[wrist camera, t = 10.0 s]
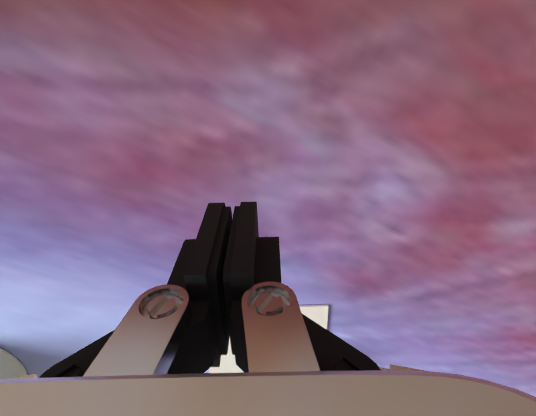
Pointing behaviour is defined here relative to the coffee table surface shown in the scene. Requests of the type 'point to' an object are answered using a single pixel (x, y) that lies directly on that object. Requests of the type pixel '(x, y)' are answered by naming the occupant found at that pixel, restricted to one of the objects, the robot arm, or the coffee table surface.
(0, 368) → the can
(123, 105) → the coffee table surface
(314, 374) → the robot arm
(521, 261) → the coffee table surface
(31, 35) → the coffee table surface
